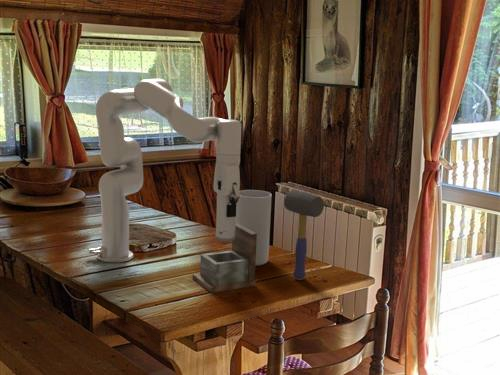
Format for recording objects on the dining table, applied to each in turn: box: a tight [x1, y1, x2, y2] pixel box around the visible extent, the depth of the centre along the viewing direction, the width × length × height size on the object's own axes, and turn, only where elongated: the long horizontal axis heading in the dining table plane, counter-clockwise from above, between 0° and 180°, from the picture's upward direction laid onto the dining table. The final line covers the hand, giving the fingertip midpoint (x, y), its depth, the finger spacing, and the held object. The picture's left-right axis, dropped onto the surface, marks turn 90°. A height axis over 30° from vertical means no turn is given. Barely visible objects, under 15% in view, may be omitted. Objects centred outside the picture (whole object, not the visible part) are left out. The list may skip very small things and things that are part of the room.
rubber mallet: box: [283, 190, 325, 281], centre depth 218 cm, size 12×8×30 cm, turn 46°
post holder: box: [192, 224, 257, 294], centre depth 213 cm, size 16×14×18 cm
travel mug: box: [215, 181, 236, 243], centre depth 210 cm, size 6×7×20 cm
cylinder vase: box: [236, 189, 273, 267], centre depth 235 cm, size 12×12×25 cm
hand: (226, 213), depth 210 cm, fingers closed on travel mug, 6 cm apart
